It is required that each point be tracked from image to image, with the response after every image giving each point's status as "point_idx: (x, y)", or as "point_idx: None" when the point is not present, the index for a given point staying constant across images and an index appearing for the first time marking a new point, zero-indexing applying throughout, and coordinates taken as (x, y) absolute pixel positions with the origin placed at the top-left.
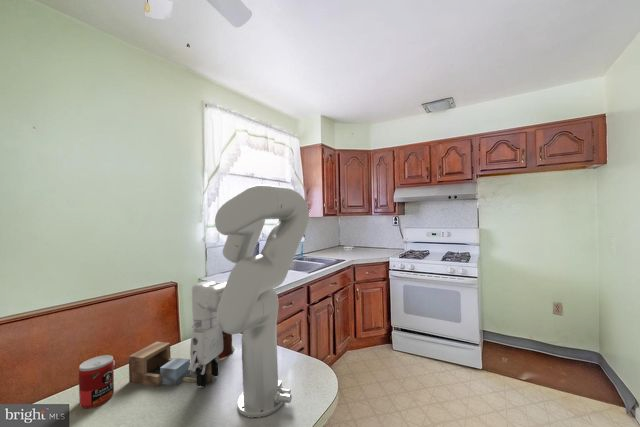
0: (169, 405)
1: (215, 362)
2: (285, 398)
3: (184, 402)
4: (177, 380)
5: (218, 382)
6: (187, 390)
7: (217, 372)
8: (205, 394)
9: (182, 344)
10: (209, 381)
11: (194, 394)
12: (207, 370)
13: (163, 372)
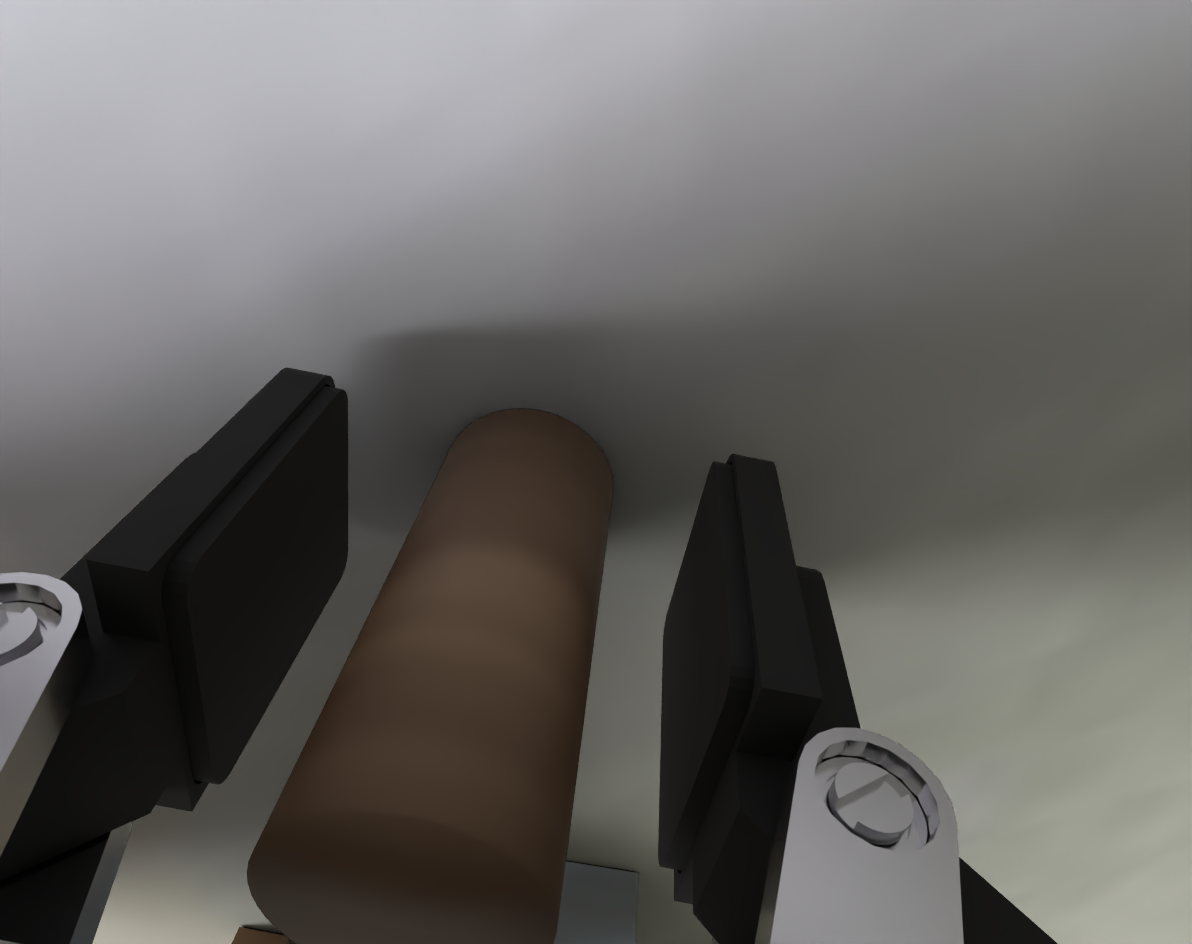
0: (1150, 778)
1: (108, 659)
2: None
3: (1140, 616)
4: (609, 935)
5: (482, 248)
6: None
7: (283, 411)
8: (955, 340)
9: None
10: (571, 457)
11: (911, 558)
12: (553, 697)
13: None
